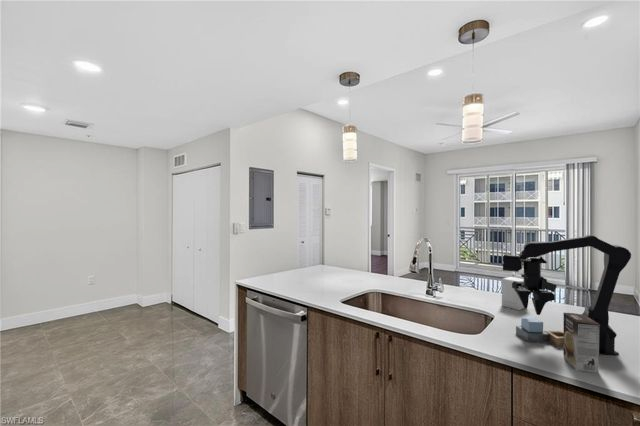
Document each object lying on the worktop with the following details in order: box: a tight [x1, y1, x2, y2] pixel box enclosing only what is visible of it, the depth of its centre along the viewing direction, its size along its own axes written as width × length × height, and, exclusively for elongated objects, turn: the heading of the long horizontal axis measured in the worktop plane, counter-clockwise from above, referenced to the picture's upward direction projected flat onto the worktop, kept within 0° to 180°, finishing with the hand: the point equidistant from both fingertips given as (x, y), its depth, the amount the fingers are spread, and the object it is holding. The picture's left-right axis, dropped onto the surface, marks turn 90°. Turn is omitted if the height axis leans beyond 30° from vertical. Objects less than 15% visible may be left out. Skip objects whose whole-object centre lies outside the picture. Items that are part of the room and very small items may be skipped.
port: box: [515, 325, 550, 343], centre depth 123 cm, size 8×8×3 cm
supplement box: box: [501, 276, 525, 311], centre depth 162 cm, size 9×9×15 cm
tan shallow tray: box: [543, 330, 564, 348], centre depth 119 cm, size 7×7×3 cm
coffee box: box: [562, 312, 600, 374], centre depth 102 cm, size 9×6×16 cm
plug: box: [520, 316, 544, 332], centre depth 123 cm, size 5×6×8 cm
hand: (531, 311), depth 123 cm, fingers open, 8 cm apart
